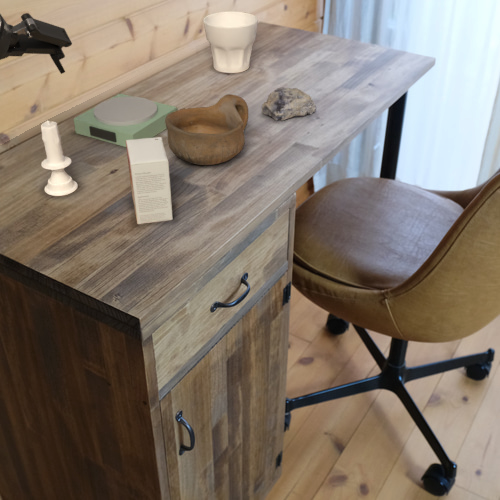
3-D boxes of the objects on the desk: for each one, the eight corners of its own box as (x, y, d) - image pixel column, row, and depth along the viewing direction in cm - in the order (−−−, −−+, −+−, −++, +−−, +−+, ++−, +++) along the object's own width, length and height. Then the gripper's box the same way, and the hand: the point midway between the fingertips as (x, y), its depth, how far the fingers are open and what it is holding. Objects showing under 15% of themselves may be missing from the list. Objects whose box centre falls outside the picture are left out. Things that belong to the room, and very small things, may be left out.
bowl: (191, 118, 125) (202, 72, 119) (256, 148, 124) (270, 103, 117) (146, 157, 112) (156, 107, 105) (218, 192, 110) (232, 143, 104)
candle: (41, 184, 108) (26, 117, 101) (73, 177, 110) (60, 111, 103) (49, 199, 104) (34, 131, 97) (81, 191, 106) (69, 123, 99)
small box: (132, 198, 104) (124, 139, 98) (167, 194, 105) (161, 135, 99) (136, 225, 98) (129, 163, 92) (173, 221, 99) (168, 159, 93)
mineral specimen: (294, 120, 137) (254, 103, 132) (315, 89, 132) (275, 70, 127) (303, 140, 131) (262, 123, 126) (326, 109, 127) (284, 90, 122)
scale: (74, 133, 123) (71, 115, 121) (121, 107, 133) (119, 89, 131) (133, 150, 118) (131, 131, 115) (177, 121, 128) (176, 103, 126)
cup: (194, 70, 150) (192, 22, 144) (222, 54, 159) (221, 8, 152) (241, 80, 145) (240, 30, 139) (267, 63, 154) (268, 16, 147)
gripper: (-109, 95, 79) (-44, 139, 100) (76, 10, 82) (102, 70, 103) (-136, 42, 79) (-65, 97, 101) (49, -42, 82) (81, 29, 103)
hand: (20, 84), depth 102 cm, fingers open, 13 cm apart
